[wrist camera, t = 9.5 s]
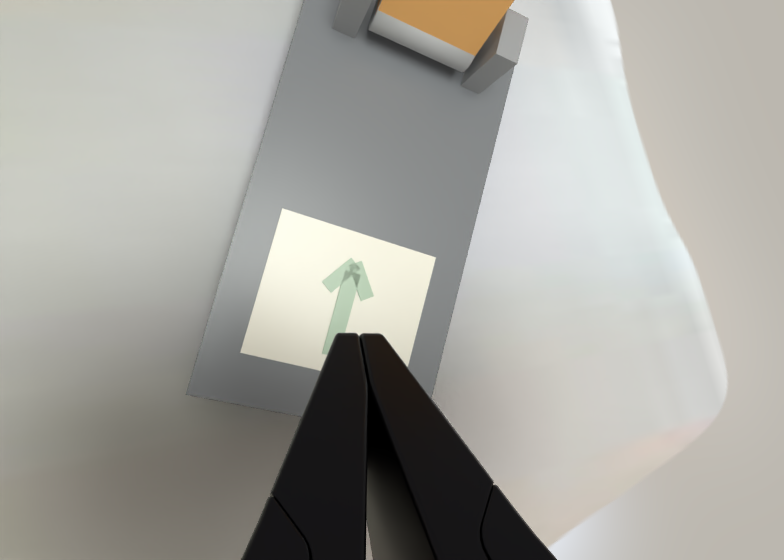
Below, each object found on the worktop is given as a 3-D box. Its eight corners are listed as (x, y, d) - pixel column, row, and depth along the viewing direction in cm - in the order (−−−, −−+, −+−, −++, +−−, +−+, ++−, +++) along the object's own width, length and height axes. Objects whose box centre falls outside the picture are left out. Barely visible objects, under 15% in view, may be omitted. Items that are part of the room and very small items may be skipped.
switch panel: (405, 427, 23) (451, 465, 18) (190, 384, 20) (175, 416, 15) (499, 57, 25) (564, 0, 20) (315, -32, 22) (337, -124, 17)
